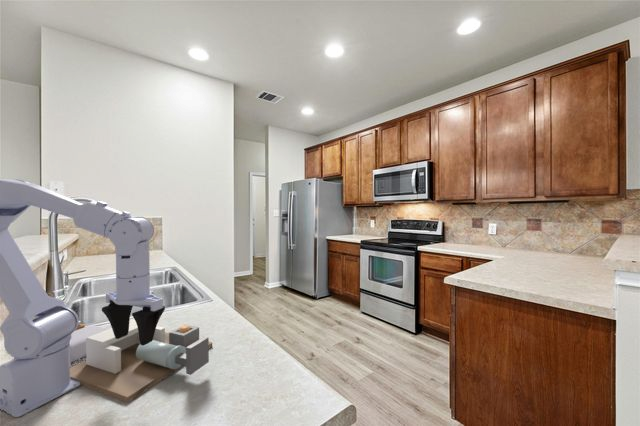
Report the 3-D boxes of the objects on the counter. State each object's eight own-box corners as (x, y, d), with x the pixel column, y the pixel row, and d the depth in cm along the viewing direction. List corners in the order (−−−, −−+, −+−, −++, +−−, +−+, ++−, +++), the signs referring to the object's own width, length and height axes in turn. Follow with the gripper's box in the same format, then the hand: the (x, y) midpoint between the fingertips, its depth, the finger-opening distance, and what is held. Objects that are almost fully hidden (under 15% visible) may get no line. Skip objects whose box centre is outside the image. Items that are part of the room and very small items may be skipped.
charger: (133, 336, 77) (70, 364, 63) (111, 331, 80) (47, 358, 66) (133, 320, 77) (70, 345, 63) (111, 316, 80) (47, 339, 66)
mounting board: (127, 402, 50) (127, 397, 50) (59, 377, 58) (59, 372, 58) (212, 346, 71) (212, 342, 71) (153, 333, 78) (153, 329, 78)
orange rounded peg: (184, 345, 68) (184, 330, 68) (177, 344, 69) (177, 328, 69) (191, 341, 70) (191, 326, 70) (184, 339, 71) (184, 325, 71)
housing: (135, 380, 55) (135, 350, 55) (86, 364, 61) (86, 337, 61) (199, 342, 71) (199, 319, 71) (155, 332, 77) (155, 311, 77)
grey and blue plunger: (190, 380, 54) (190, 348, 54) (134, 364, 60) (134, 335, 60) (208, 367, 59) (208, 337, 59) (155, 353, 65) (154, 326, 65)
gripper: (175, 273, 56) (176, 336, 56) (129, 268, 61) (129, 326, 61) (143, 282, 50) (143, 353, 50) (94, 275, 55) (95, 340, 55)
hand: (133, 339), depth 55 cm, fingers open, 7 cm apart
